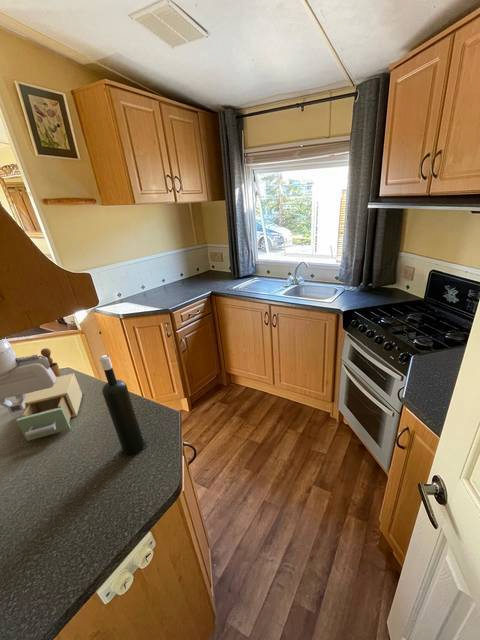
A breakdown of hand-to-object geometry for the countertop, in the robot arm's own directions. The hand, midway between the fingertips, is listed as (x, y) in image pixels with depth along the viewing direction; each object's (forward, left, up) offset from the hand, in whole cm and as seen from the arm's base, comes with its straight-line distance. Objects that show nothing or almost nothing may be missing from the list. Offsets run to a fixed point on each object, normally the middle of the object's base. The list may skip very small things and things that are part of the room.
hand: (18, 409), depth 75 cm
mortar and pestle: (-2, +41, -17) cm, 45 cm away
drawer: (0, +14, -16) cm, 21 cm away
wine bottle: (+24, -8, -17) cm, 31 cm away
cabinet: (0, +25, -17) cm, 30 cm away
